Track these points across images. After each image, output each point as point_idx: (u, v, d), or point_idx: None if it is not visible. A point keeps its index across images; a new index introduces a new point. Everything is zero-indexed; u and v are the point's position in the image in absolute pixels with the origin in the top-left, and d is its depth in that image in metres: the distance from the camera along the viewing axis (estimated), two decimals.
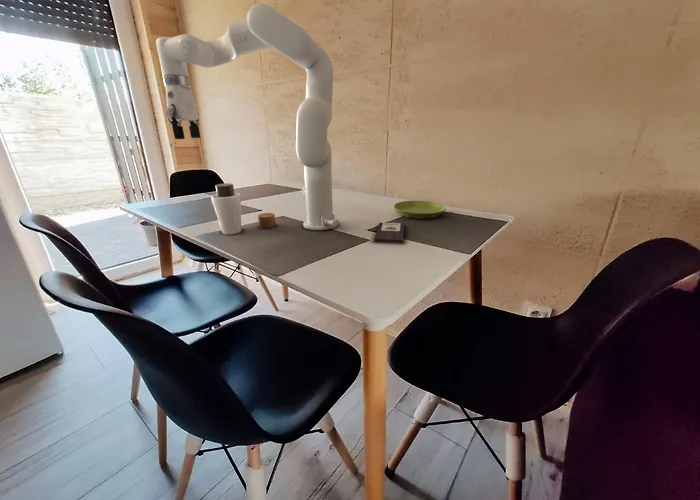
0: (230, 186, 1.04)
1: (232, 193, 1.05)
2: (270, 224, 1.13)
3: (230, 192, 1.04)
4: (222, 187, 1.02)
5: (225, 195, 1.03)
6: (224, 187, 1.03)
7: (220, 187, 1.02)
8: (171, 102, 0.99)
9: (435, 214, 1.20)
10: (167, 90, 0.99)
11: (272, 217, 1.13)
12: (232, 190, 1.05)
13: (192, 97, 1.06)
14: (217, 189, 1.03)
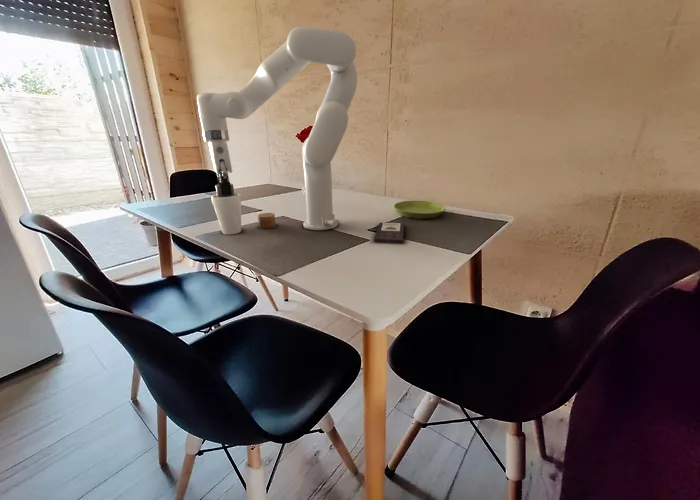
0: None
1: (232, 193, 1.05)
2: (270, 224, 1.13)
3: None
4: None
5: (225, 195, 1.03)
6: None
7: None
8: (220, 157, 0.97)
9: (435, 214, 1.20)
10: (215, 145, 0.96)
11: (272, 217, 1.13)
12: (232, 190, 1.05)
13: None
14: (217, 189, 1.03)
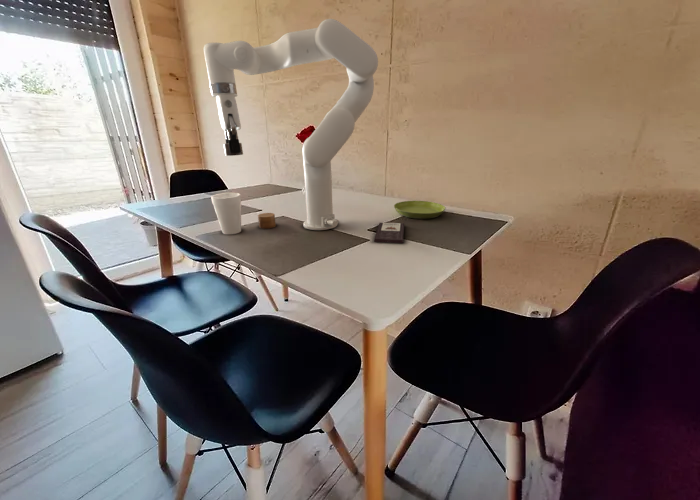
0: None
1: (241, 152, 1.02)
2: (270, 224, 1.13)
3: None
4: None
5: (234, 153, 1.00)
6: None
7: (228, 145, 0.99)
8: (228, 111, 0.94)
9: (435, 214, 1.20)
10: (223, 99, 0.93)
11: (272, 217, 1.13)
12: (240, 148, 1.02)
13: None
14: (225, 147, 1.00)
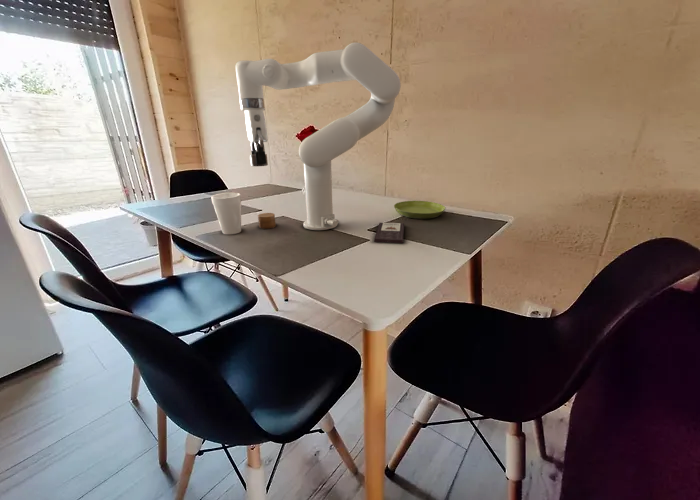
0: None
1: (266, 163, 1.07)
2: (270, 224, 1.13)
3: None
4: None
5: (260, 164, 1.05)
6: None
7: (255, 156, 1.04)
8: (257, 125, 0.99)
9: (435, 214, 1.20)
10: (252, 113, 0.98)
11: (272, 217, 1.13)
12: (266, 159, 1.06)
13: None
14: (252, 158, 1.05)
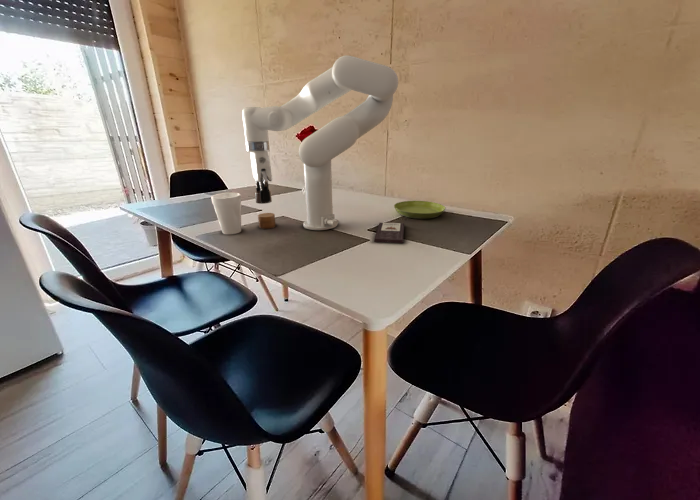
0: None
1: (270, 200, 1.12)
2: (270, 224, 1.13)
3: None
4: None
5: None
6: None
7: None
8: (262, 167, 1.04)
9: (435, 214, 1.20)
10: (258, 156, 1.03)
11: (272, 217, 1.13)
12: (270, 197, 1.11)
13: None
14: (256, 196, 1.10)
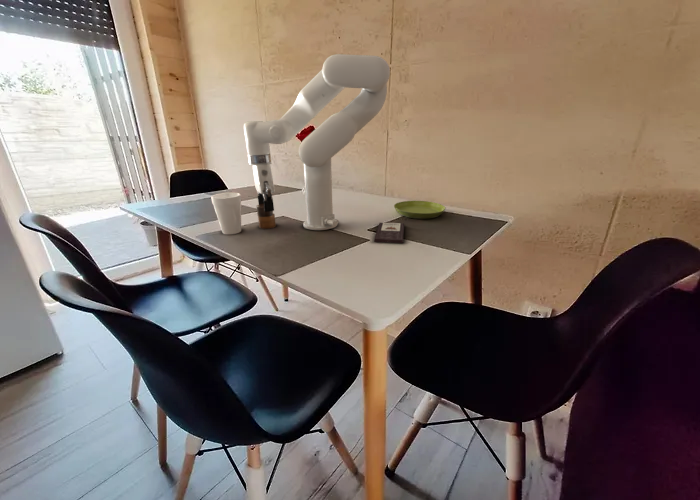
0: None
1: (271, 213, 1.13)
2: (270, 224, 1.13)
3: (270, 213, 1.13)
4: (263, 208, 1.11)
5: (266, 215, 1.12)
6: None
7: (261, 208, 1.11)
8: (264, 179, 1.05)
9: (435, 214, 1.20)
10: (260, 169, 1.04)
11: (272, 217, 1.13)
12: None
13: None
14: (258, 210, 1.12)
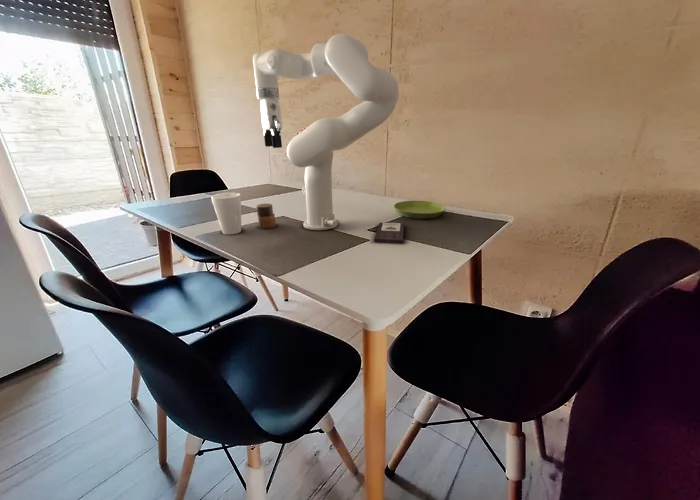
0: (270, 207, 1.12)
1: (271, 213, 1.13)
2: (270, 224, 1.13)
3: (270, 213, 1.13)
4: (263, 208, 1.11)
5: (266, 215, 1.12)
6: (265, 208, 1.11)
7: (261, 208, 1.11)
8: (273, 113, 1.06)
9: (435, 214, 1.20)
10: (269, 102, 1.05)
11: (272, 217, 1.13)
12: (271, 210, 1.13)
13: None
14: (258, 210, 1.12)
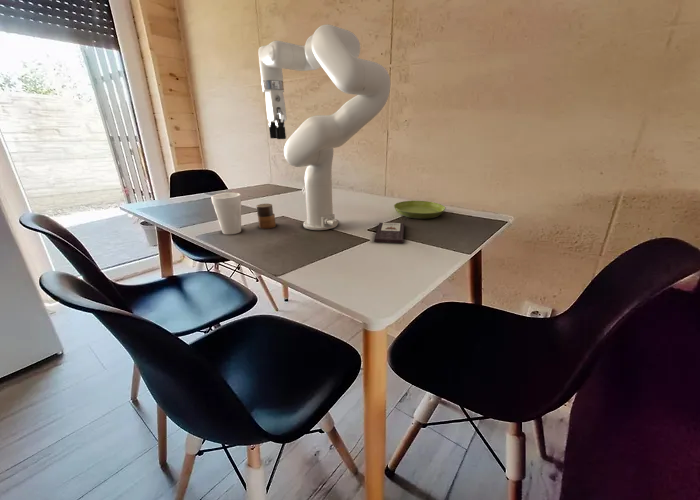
0: (270, 207, 1.12)
1: (271, 213, 1.13)
2: (270, 224, 1.13)
3: (270, 213, 1.13)
4: (263, 208, 1.11)
5: (266, 215, 1.12)
6: (265, 208, 1.11)
7: (261, 208, 1.11)
8: (277, 105, 1.08)
9: (435, 214, 1.20)
10: (273, 94, 1.07)
11: (272, 217, 1.13)
12: (271, 210, 1.13)
13: None
14: (258, 210, 1.12)
